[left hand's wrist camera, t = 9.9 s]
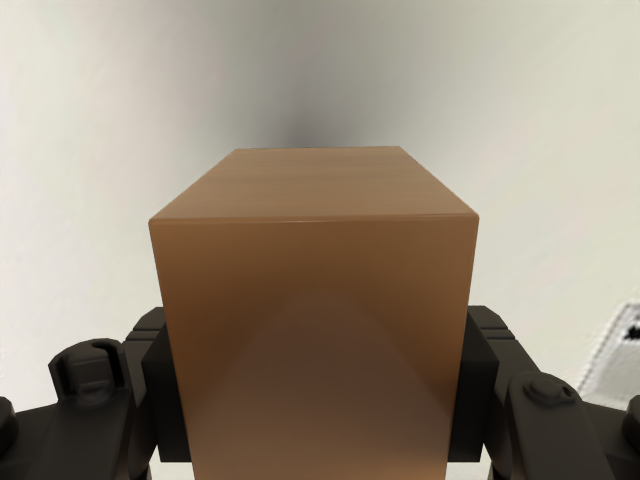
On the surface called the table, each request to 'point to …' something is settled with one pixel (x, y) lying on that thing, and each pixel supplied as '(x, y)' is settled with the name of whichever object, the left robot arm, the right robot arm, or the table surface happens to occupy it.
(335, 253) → the bar
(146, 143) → the table surface
